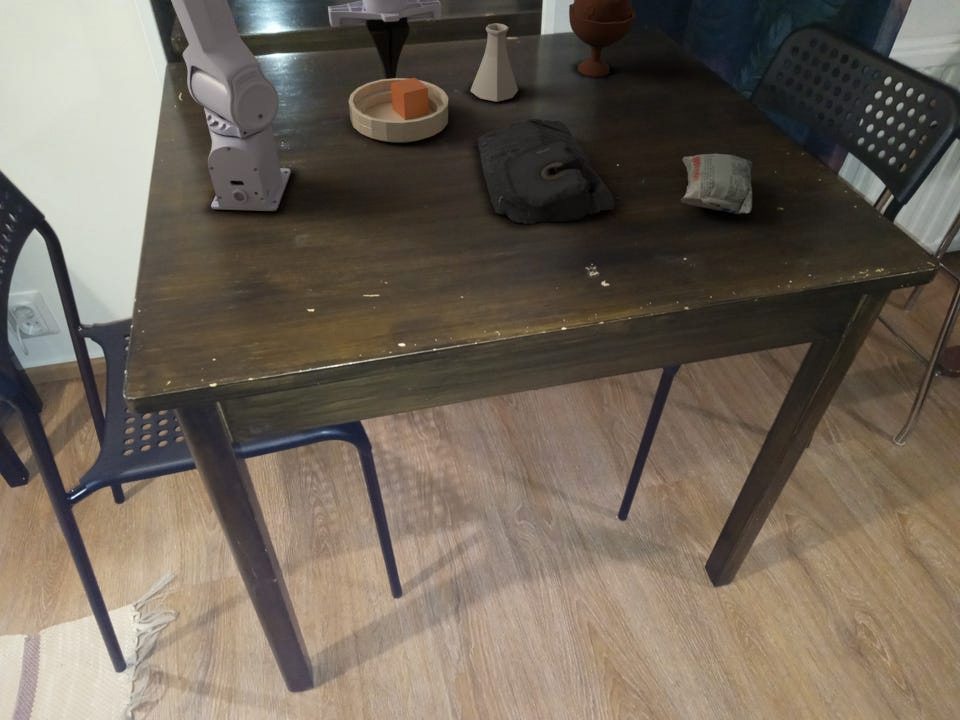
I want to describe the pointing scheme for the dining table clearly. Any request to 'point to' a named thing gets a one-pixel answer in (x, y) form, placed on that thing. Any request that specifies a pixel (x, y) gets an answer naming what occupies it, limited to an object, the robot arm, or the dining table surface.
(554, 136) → the dark slate chunk
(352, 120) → the bowl
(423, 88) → the block
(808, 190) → the dining table surface
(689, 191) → the packaged food
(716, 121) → the dining table surface
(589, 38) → the ice cream bowl
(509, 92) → the flask
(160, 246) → the dining table surface
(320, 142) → the dining table surface
